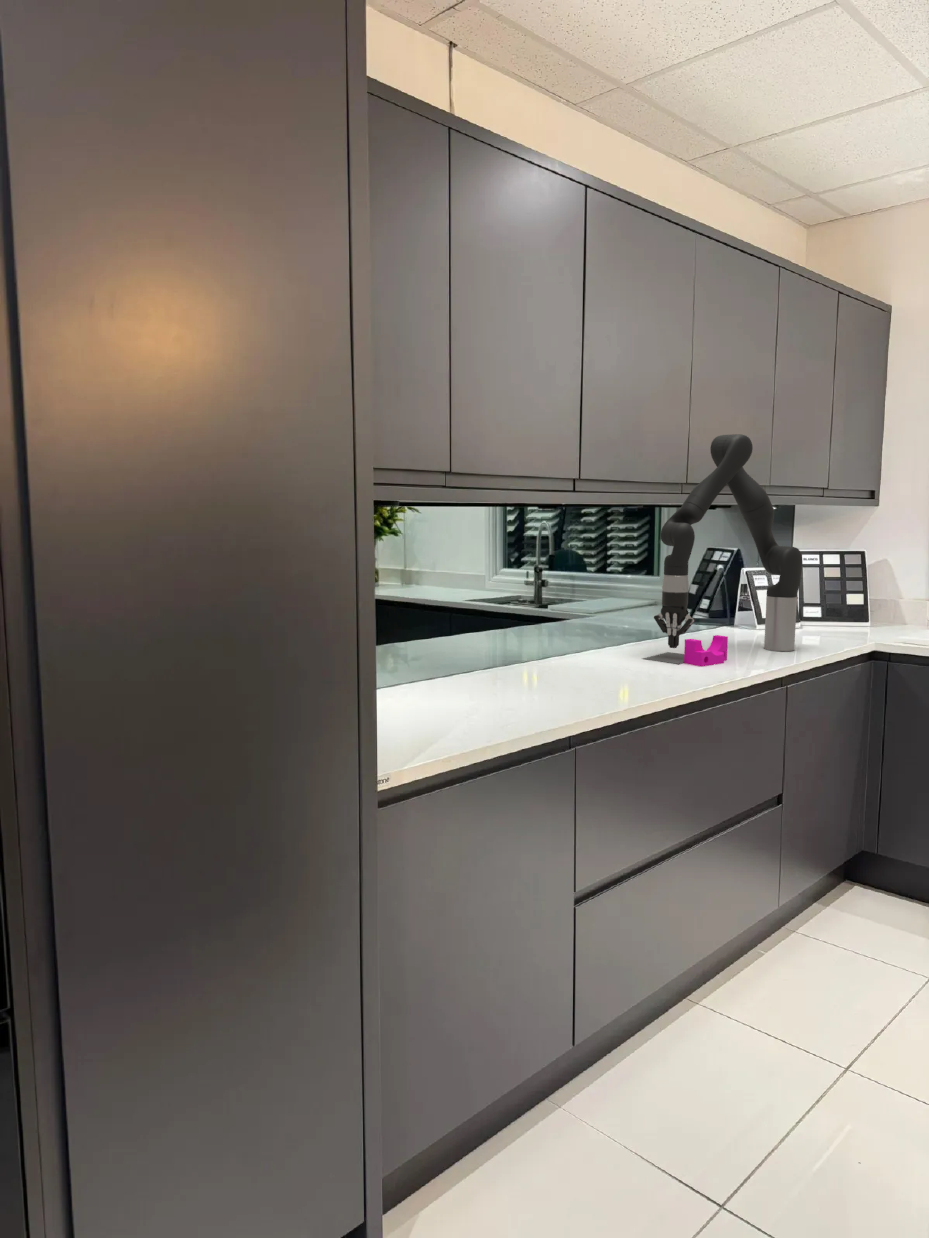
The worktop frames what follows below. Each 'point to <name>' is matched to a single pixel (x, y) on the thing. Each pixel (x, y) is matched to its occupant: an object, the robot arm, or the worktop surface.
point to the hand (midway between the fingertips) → (673, 647)
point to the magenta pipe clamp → (706, 651)
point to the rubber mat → (668, 658)
